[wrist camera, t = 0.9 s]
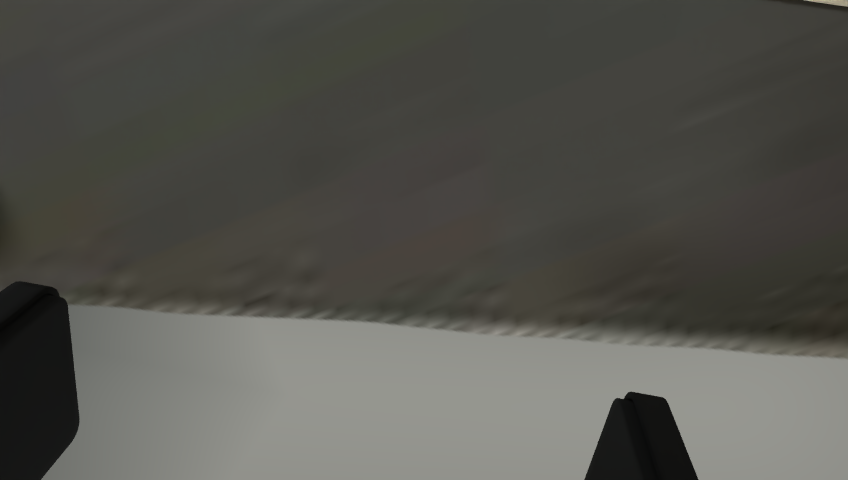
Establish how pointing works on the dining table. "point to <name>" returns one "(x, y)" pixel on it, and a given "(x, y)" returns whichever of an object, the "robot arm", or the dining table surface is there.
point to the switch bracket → (832, 2)
